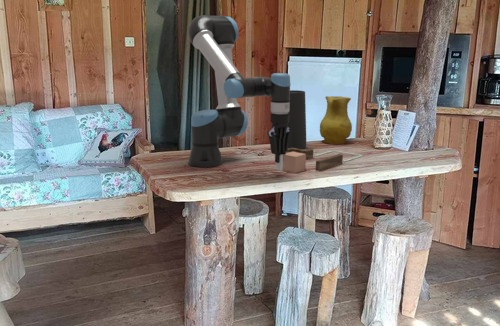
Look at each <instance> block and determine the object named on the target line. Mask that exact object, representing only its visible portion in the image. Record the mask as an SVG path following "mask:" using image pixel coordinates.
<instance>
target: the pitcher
mask: <svg viewBox="0 0 500 326" xmlns="http://www.w3.org/2000/svg"><path fill="white" fill-rule="evenodd" d="M324 98H325V100H326V110H325V111H326V112H325V114H324V116H323V118H322V119H321V121H320V122H319V123H320V124H319V134H320V136H321V137H322V138H323V140H322V142H323V143H325V144H329V145H343V144H346V143H347V141H346V140H347V139H349V138H350V136H351V133H352V130H353V125H352V122H351V120H350V118H349V114H348V105H349V103H350V101H351V100H352V98H351V97H347V96H342V95H341V96H339V95H338V96H334V95H331V96H325V97H324Z"/></svg>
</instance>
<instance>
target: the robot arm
mask: <svg viewBox="0 0 500 326" xmlns="http://www.w3.org/2000/svg"><path fill="white" fill-rule="evenodd" d="M187 29H188V30H187V33H188V34H187V35H188V36H187V37H188V40H189V42H190V43H191V44H192V46H193V47H194V48H195V49H197V50H199V51H200V53H201V54H202V55H203V57H204V58H205V59H206V61H207V62H208V63H209V65H210V66H211V68H212V69H213V70H214V76H215V88H216V94H217V104H218V105H217V107H216V108H215V109H203V110H199V111H195V112H194V113H193V114H192V115H191V119H190V120H191V122H190V125H191V127H190V128H191V149H190V153H189V157H188V158H187V159H188V161H187V162H188V165H190V166H192V167H197V168H211V167H217V166H220V165H222V164H223V156H222V154H221V151H220V147H219V139H225V138H234V137H235V138H236V137H237V136H241V135H243V134H244V133H245V132H246V130H247V127H248V124H249V123H248V122H249V121H248V120H249V119H248V115H247V114H246V111H244V110H243V109H242V106H241V105H240V104H239V103H238V100H237V99H240V98H241V99H242V98H252V97H253V98H254V97H255V98H256V97H269V98H270V112H271V113H270V122H271V124H272V126H271V129H270V130H268V131H267V136H268V139H269V140H268V141H269V146H270V152H271V154H272V155H274V162H275V170H276V171H281V172H282V171H284V170H283V160H284V154H286V153H285V152H287V150H288V144H289V138H290V133H291V131H292V129H291V128H289V127H288V124H287V123H289V115H290V114H289V113H288V112H289V108H290V90H291V76H290V73H286V72H284V73H282V72H276V73H272V74H271V76H270V77H265V76H255V77H244V76H243V75H242V74H241V72H240V71H239V70H238V68H237V67H236V66H235V64H234V62H233V61H234V60H233V51H232V50H233V48H234V47H235V42H237V40H238V39H239V38H238V37H239V27H238V24H237V22H236V21H235V19H233V18H232V17H230V16H225V15H206V14H204V15H203V14H201V15H198V16H195V17H194V18H193V19H192V21H190V23H189V25H188V28H187Z"/></svg>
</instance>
